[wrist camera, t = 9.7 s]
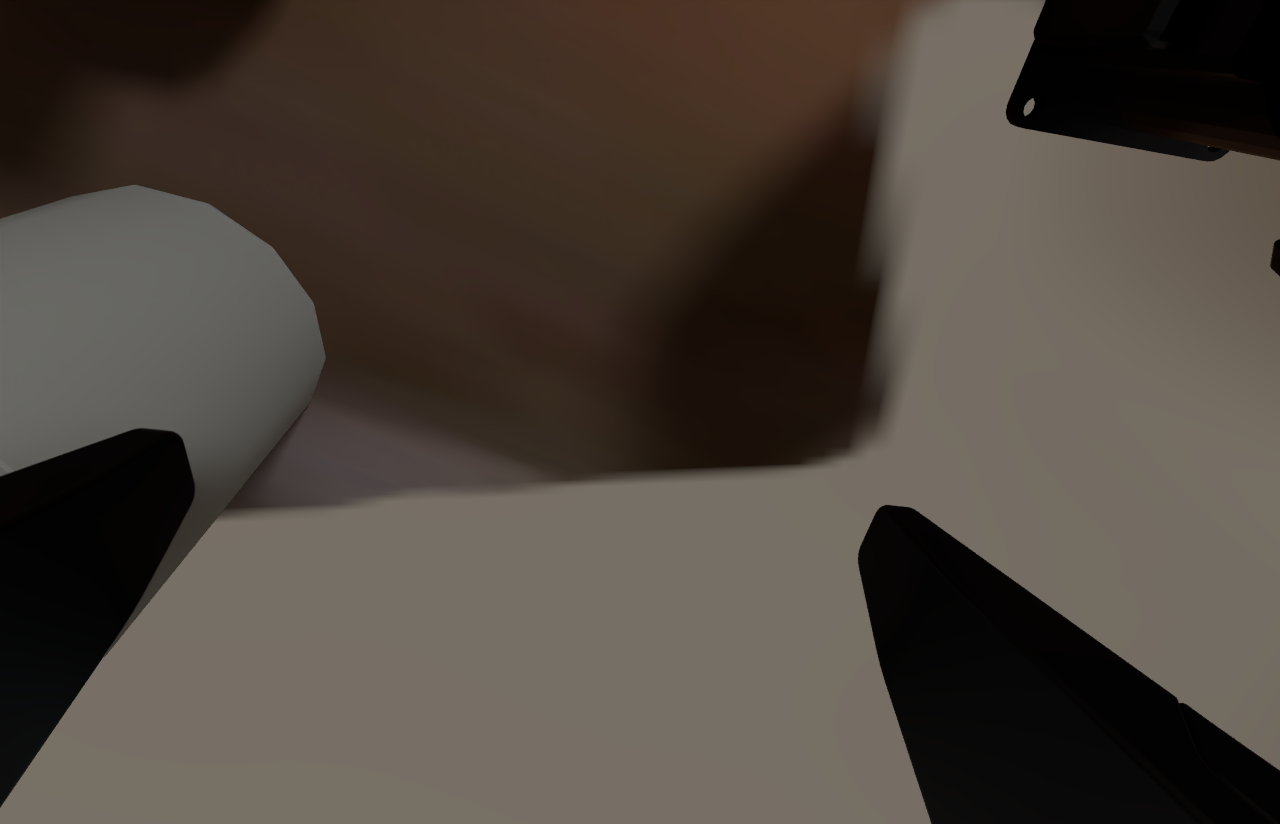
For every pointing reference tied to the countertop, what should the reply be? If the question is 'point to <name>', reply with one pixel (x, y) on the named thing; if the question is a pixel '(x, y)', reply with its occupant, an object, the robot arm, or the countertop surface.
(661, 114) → the countertop surface
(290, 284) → the cup
